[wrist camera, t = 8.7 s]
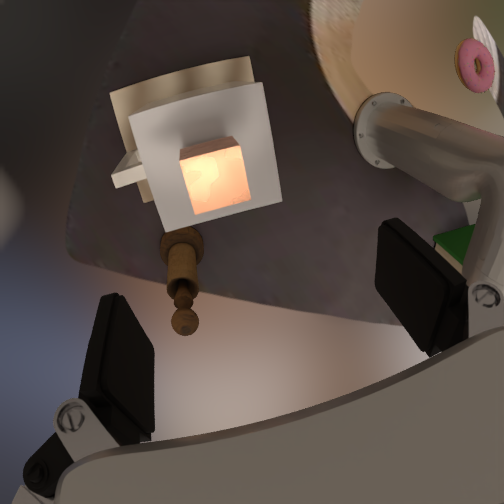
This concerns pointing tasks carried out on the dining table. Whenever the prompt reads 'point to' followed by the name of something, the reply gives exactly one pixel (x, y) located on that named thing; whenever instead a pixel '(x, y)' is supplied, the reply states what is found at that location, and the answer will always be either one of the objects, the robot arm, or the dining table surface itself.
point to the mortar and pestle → (182, 275)
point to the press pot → (195, 132)
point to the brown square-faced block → (214, 174)
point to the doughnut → (465, 69)
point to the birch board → (168, 86)
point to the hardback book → (454, 245)
